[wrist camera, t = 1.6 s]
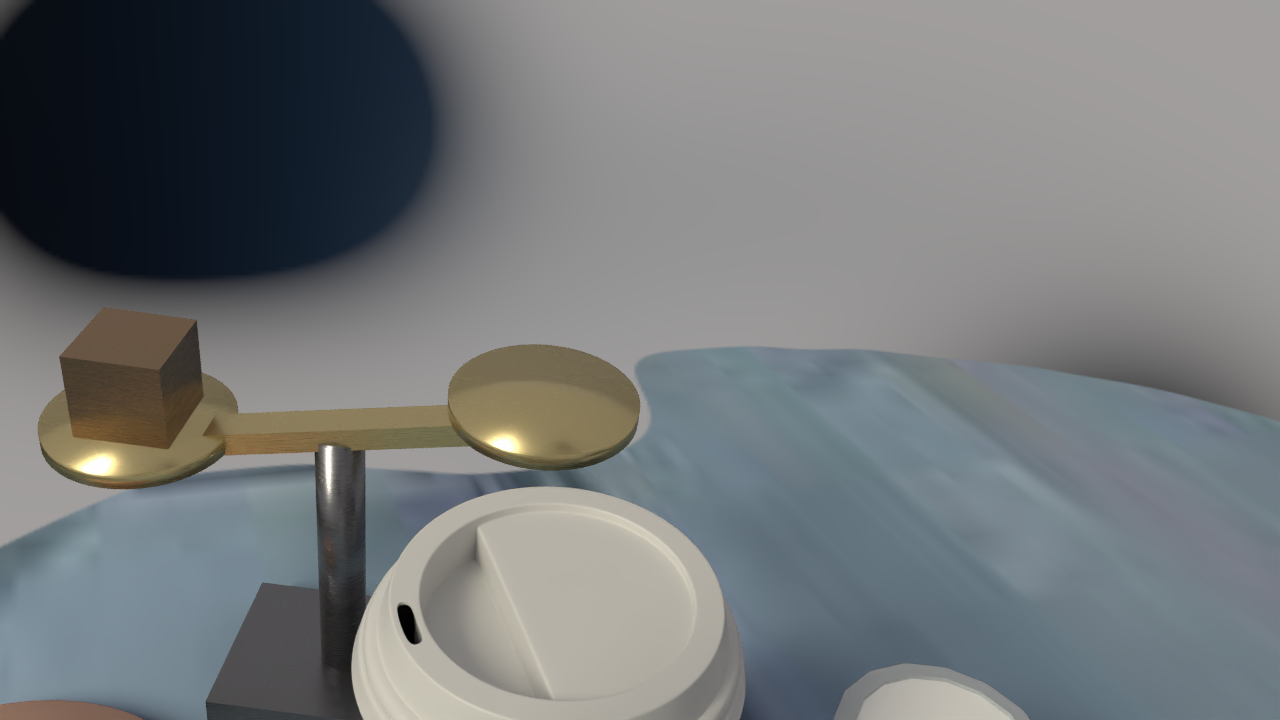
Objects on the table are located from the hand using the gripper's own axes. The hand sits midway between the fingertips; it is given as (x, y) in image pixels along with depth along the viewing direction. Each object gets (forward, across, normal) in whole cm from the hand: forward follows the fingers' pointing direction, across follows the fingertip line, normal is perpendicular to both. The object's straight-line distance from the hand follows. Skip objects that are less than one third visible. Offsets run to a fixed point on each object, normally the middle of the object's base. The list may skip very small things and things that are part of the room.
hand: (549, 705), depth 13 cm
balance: (+22, -8, -24) cm, 34 cm away
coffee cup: (+12, 0, -25) cm, 28 cm away
